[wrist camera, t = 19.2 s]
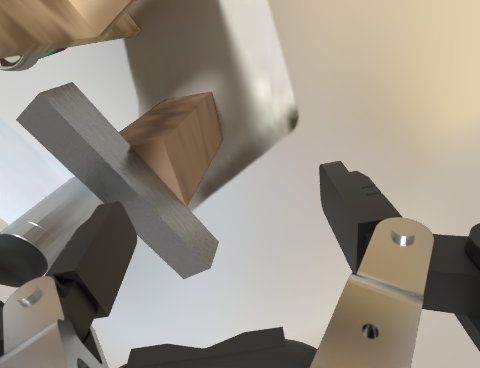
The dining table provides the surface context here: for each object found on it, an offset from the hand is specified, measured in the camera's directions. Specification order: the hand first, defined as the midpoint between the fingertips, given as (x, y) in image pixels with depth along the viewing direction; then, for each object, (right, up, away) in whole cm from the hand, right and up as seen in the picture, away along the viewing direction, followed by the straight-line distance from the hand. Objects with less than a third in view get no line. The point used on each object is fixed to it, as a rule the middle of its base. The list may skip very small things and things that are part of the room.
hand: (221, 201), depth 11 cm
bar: (-10, +1, +19) cm, 21 cm away
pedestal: (-7, +11, +35) cm, 38 cm away
